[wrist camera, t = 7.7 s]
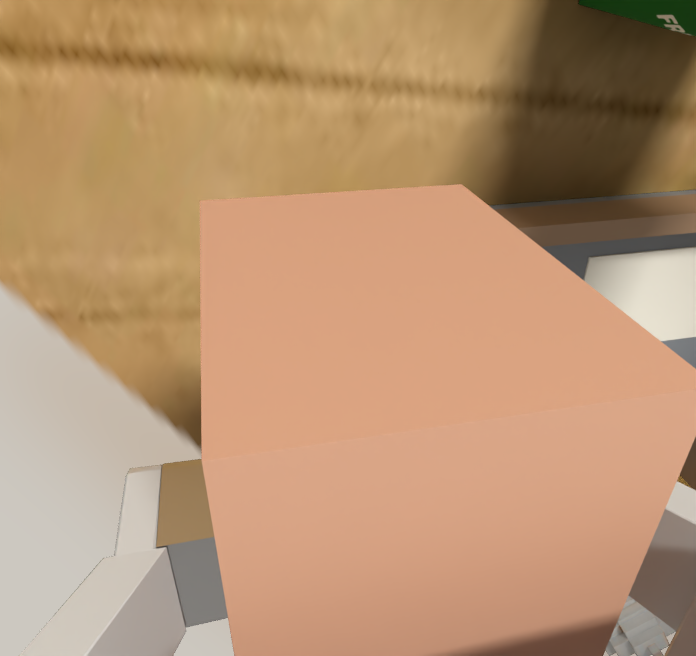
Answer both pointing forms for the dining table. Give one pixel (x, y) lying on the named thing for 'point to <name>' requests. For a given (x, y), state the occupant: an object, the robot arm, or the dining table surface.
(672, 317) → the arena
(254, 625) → the salmon block
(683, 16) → the milk carton
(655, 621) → the decorative ornament
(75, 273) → the dining table surface
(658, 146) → the dining table surface
